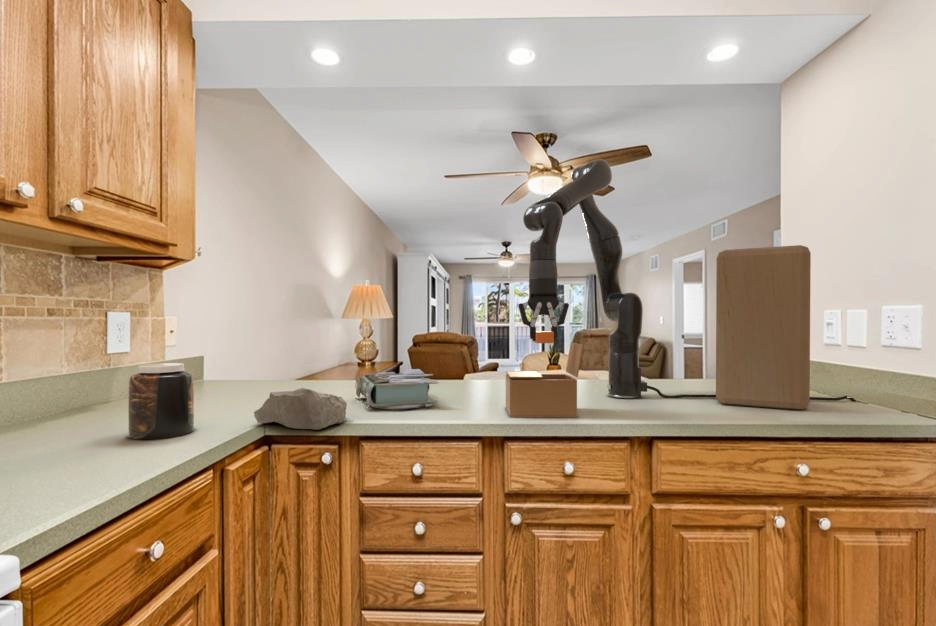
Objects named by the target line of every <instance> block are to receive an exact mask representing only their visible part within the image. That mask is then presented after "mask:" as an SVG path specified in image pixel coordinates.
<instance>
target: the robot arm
mask: <svg viewBox="0 0 936 626" xmlns="http://www.w3.org/2000/svg"><path fill="white" fill-rule="evenodd" d="M612 179H613V172H612V168H611V166H610V165H609V163H608V162H607V161H606V160H604V159H600V158H599V159H593V160H591V161H589V162H586V163H584V164H581V165H579V166H576V167H574V169H573V170H572V171H571V181H570V182H568V183H566V184H564V185H562V186H560V187H559V188H557V189H556V190H555V191H553V192H552V193H551V194H550V195H549V196H547V197H545V198H543V199H540V200H538V201H536V202H534V203H531V205H529V206H528V207H527V208H526V209H525V210H524V213H523V217H522V220H523V221H522V222H523V224H524V227H525V228H526V229H527V230H529V231H530V232H540V231H542V232H541V234H540V236H539V237H537V238H535V239H533V240H531V242H530V244H529V267H528V299H527V301H526V302H521V303H518V305H517V308H518V312H519V315H520V318H521V321H522V324H523V325H525V326H527V327H528V328H529V339H530V340H531V341H532V342H533V341H536V331H537V327H536V323H537V321H538V318H539V316H543V315H544V316H548V320H549V322H550V325H551V327H550V331H551V332H554V342H555V340H557V339H558V327H559V326H561V325H564V324H565V321H566V317H567V314H568V311H569V306H570V304H569V303H568V302H562V301H560V300H559V298H558V275H559V273H558V265H557V244H558V240H559V236H560V232H561V228H562V225H563V220H564V219H563V217H565V216H566V215H567V214H568V213H570V212H571V211H572V210H573V209H574V208H576V207H577V206H578V205H579V208H580V211H581V214H582V218H583V220H584V224H585V229H586V233H587V237H588V241H589V245H590V250H591V253H592V258H593V260H594V264H595V270H596V274H597V278H598V282H599V288H600V295H601V302H602V303H601V304H602V308H603V312H604V314H605V316H606V318H607V319H608V320H609V321H612V322H614V323H615V322H617V326H616V329H615V330H614V331H613V332H610V333H609V335H608V383H607V384H606V388H607V389H608V393H607V395H608V397H610V398H616V399H638V398H640V399H642V393H647V392H648V390H651V391H653V392H656V393H657V394H658V395H659V396H660V397H661V398H664V399H681V398H716V394H676V395H667V394H663V393H662V392H661V390H660V389H659V388H657V387H654V386H651V385H648V382H646V381H645V380H642V367H640V337H641V335H642V331H643V314H644V310H643V309H644V307H643V302H642V299H641V297H640V296H639V295H638V294H637V293H635V292H623V291H622V289H621V284H620V277H619V274H620V273H619V272H620V269H621V268H620V267H621V263H622V259H623V245H622V240H621V237H620V234H619V230H618V228H617V226H616V225H615V224H614V223H613V222H612V221H611V220H610V219H609V218H608V217H607V216H606V215H605V214H604V213H603V212H602V211H601V210H600V209H599V207H598V204H597V203H596V200H595V198H594V194H595V193H597V192H600V191H603V190H605V189H606V188H608V187H609V186H610V184H611V183H612ZM528 307H529V308H530V310H531V311H532V314H531V318H530V320H529V319H528V316H527V313H526V311H527V310H528ZM558 307H559V308H558ZM557 308H558V309H559V310H560V314H559V316H558V320H557V318H556V314H555V310H556V309H557ZM847 396H848V395H844V396H838V397H825V396H824V397H823V396H820V397H819V396H810V401H829V402H830V401H831V402H833V401H835V402H837V401H842V400H850V401H851V402H857V400H856V399H855V398H854V397H852V398H847Z"/></svg>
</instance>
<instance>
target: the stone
mask: <svg viewBox="0 0 936 626" xmlns="http://www.w3.org/2000/svg"><path fill="white" fill-rule="evenodd" d="M347 406H348V405H347V401H346V400H345V398H343V397H341V396H337V395H334V394H330V393H323V392H318V391H315V390H313V389H309V388H304V387H300V388H297V389H295V390H286V391H285V390H284V391H283V390H282V391H271V392H270V393H269V397H267V399H266V400H265V401H264V402H263V404H262V406H260V408H258V409H256V410H254V411H253V415H254V416H253V417H254V418H255V421H256V422H257V423H258V424H268V423H273V422H275V423H278V424H280V425H282V426H284V427H286V428H290V429H298V430H314V431H315V430H316V431H319V430H322V429H324V428H327V427H329V426H332V425H339V424H342V423H344V422H345V421H346V417H347V415H346V414H347V411H346V410H347Z"/></svg>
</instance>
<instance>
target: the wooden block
mask: <svg viewBox="0 0 936 626" xmlns="http://www.w3.org/2000/svg"><path fill="white" fill-rule="evenodd" d="M811 254H812V253H811V251H810V249H809V247H808V246H804V245H801V244H797V245H796V244H795V245H783V246H782V245H781V246H766V247H764V246H763V247H751V248H749V247H747V248H736V249H735V248H732V249H724V250H722V251H720V252H718V254H717V256H716V274H715V275H716V279H715V281H716V282H715V283H716V286H715V289H716V290H715V291H716V293H715V295H716V296H715V297H716V300H715V302H716V303H715V304H716V305H715V306H716V307H715V308H716V309H715V329H716V330H715V395H716V397H715V398H716V400H717V402H718V403H720V404H723V405H724V406H725V405H726V406H736V407H737V406H739V407H751V408H765V409H778V410H788V411H789V410H791V411H803V410H806V409H808V406H809V405H810V401H811V400H810V397H811V395H810V392H811V391H810V388H811V386H810V383H811V264H812V263H811V259H812V258H811V256H812V255H811Z"/></svg>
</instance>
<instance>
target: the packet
mask: <svg viewBox="0 0 936 626" xmlns="http://www.w3.org/2000/svg"><path fill="white" fill-rule="evenodd" d="M532 342H533V343H535V344H554V343H555V341H554V332H551V330H536V341H532Z"/></svg>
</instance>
